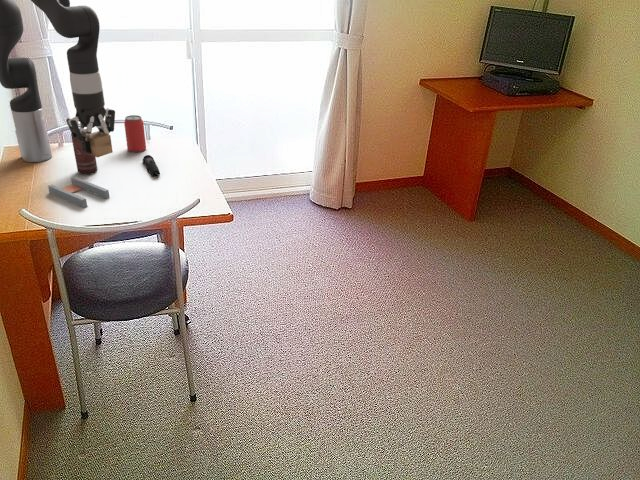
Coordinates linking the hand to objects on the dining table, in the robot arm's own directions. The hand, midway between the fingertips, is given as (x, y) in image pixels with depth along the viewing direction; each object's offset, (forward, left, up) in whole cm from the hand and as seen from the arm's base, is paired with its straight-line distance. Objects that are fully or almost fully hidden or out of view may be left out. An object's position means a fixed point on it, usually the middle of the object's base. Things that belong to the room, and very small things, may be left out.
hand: (96, 150), depth 150 cm
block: (+1, 0, 0) cm, 1 cm away
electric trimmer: (-11, +28, -18) cm, 35 cm away
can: (-25, +13, -17) cm, 33 cm away
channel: (-12, 0, -17) cm, 21 cm away
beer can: (-29, +37, -18) cm, 50 cm away
